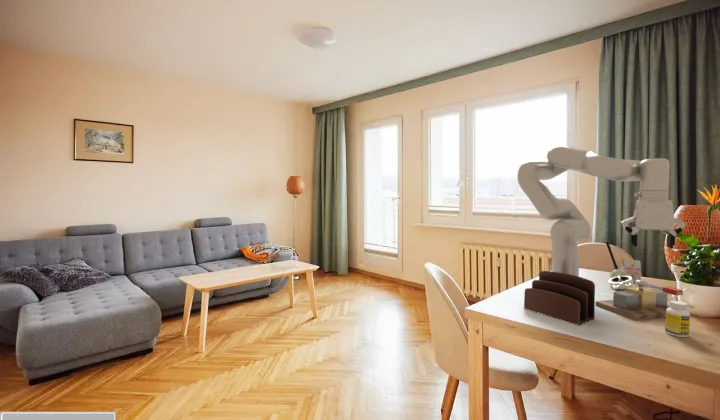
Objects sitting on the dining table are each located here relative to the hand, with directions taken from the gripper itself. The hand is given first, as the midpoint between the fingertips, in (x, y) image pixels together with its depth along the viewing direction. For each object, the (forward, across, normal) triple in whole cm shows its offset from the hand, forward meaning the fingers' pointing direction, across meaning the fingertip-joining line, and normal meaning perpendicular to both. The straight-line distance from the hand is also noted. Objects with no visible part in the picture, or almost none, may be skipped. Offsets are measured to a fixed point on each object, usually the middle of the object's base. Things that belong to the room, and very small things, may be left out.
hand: (651, 246), depth 120 cm
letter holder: (+25, -28, -6) cm, 38 cm away
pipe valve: (+23, 0, +9) cm, 25 cm away
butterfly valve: (+25, +2, +42) cm, 49 cm away
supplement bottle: (+25, +3, -13) cm, 28 cm away
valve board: (+24, 0, +9) cm, 26 cm away
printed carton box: (+25, +10, +57) cm, 62 cm away
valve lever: (+15, +3, +4) cm, 16 cm away
